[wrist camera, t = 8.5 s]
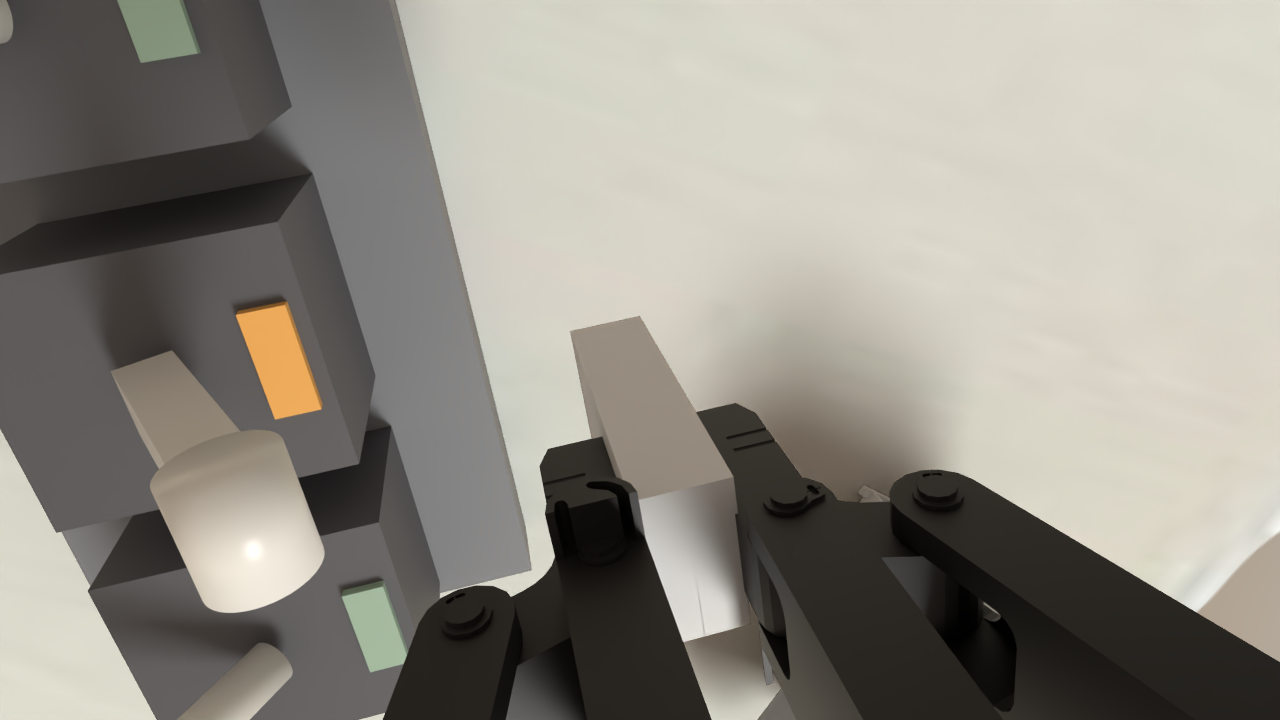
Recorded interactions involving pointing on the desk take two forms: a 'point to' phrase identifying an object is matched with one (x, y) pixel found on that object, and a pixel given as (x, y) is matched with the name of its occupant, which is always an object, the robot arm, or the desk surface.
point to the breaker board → (245, 329)
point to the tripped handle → (221, 490)
